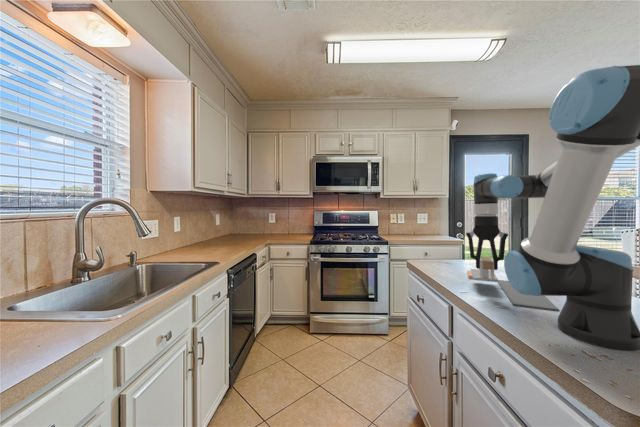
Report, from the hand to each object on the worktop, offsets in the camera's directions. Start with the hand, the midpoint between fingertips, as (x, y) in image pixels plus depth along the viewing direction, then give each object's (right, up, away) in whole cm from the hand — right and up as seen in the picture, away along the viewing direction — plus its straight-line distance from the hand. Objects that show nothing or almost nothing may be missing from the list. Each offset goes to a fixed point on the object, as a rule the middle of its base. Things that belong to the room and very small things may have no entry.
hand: (486, 277), depth 97 cm
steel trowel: (+3, -2, +7) cm, 8 cm away
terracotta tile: (+10, -6, +21) cm, 24 cm away
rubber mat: (+15, -7, +2) cm, 17 cm away
